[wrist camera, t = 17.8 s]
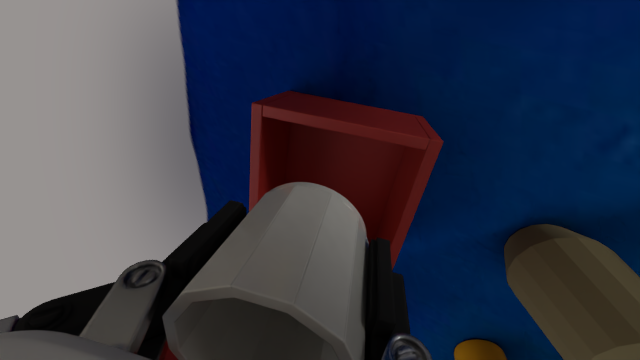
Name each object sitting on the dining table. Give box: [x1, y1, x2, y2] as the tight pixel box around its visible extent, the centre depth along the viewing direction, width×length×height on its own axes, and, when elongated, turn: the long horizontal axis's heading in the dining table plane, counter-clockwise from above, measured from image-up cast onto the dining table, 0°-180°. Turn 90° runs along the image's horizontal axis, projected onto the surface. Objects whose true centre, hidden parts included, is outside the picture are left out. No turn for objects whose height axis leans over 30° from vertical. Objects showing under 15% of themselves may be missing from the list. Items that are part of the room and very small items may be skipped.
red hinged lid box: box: [249, 91, 443, 270], centre depth 23 cm, size 15×13×8 cm
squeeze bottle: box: [504, 224, 640, 360], centre depth 17 cm, size 8×8×18 cm
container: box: [162, 182, 369, 360], centre depth 10 cm, size 6×6×6 cm
